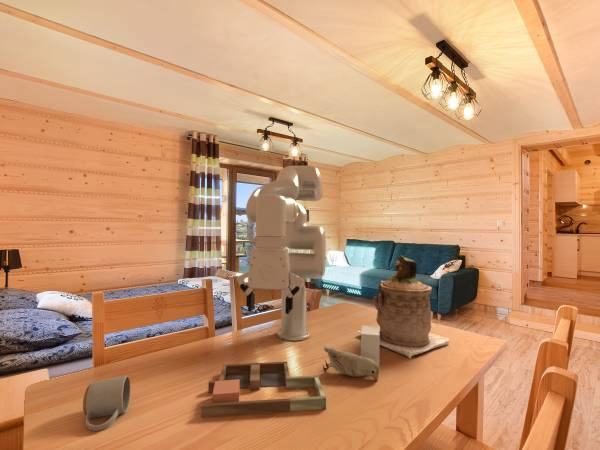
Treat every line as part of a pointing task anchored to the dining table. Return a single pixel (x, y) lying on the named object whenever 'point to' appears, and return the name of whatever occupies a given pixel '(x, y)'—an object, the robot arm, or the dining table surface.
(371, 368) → the decorative bird
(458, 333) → the dining table surface
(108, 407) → the ceramic mug
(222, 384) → the block
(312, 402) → the trap run
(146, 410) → the dining table surface
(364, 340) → the small box
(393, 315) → the cookie jar
